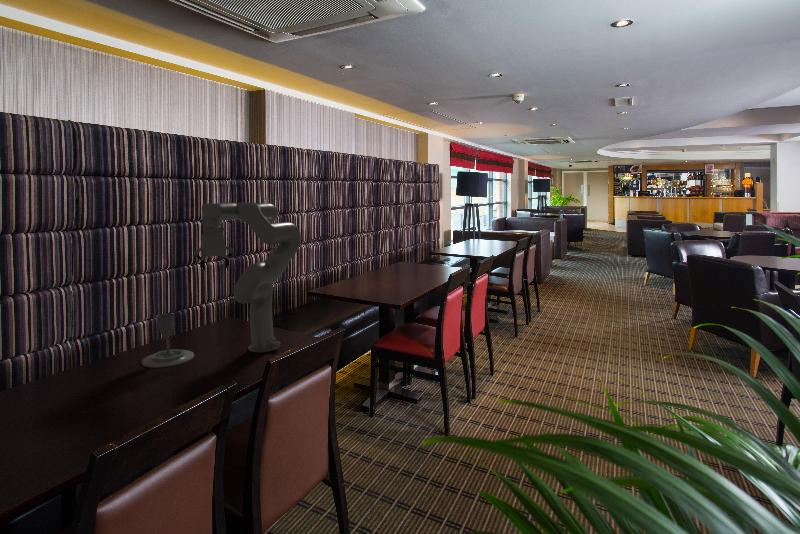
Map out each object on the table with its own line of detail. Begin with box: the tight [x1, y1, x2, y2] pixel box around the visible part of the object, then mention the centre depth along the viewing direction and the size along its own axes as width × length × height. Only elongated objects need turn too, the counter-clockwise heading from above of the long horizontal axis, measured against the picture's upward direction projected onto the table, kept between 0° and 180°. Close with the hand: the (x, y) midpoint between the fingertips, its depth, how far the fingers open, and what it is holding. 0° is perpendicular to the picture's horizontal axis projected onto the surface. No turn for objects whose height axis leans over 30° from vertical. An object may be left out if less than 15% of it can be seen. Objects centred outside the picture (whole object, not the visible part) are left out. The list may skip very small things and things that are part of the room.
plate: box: [141, 348, 195, 369], centre depth 211 cm, size 20×20×2 cm
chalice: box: [155, 313, 175, 358], centre depth 210 cm, size 7×7×18 cm
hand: (215, 268), depth 230 cm, fingers open, 9 cm apart
